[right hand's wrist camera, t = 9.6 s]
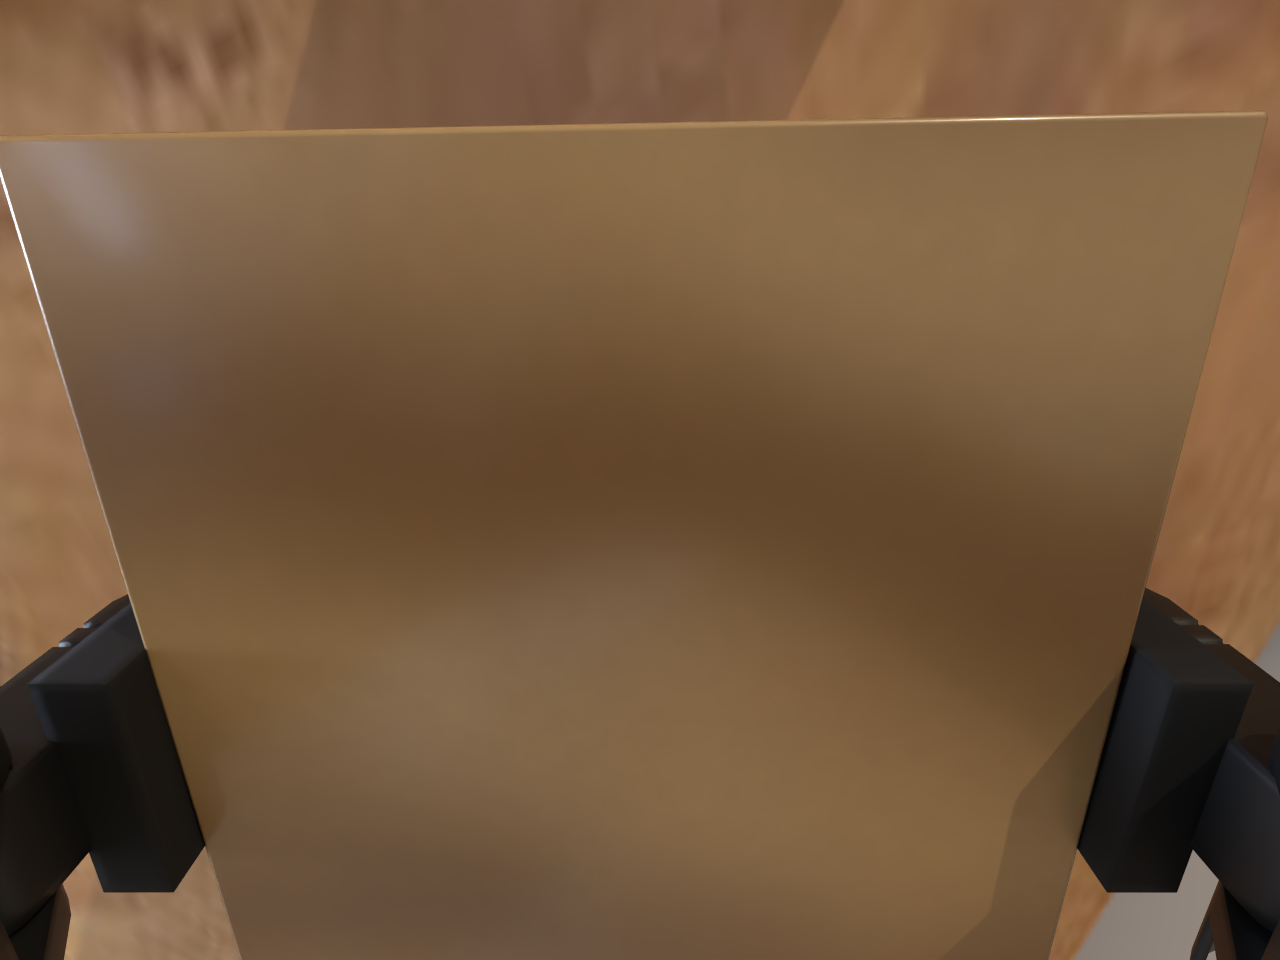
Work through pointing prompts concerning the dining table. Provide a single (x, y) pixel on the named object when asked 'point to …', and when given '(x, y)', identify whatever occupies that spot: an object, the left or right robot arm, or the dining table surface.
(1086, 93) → the dining table surface
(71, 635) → the right robot arm
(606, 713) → the slab
